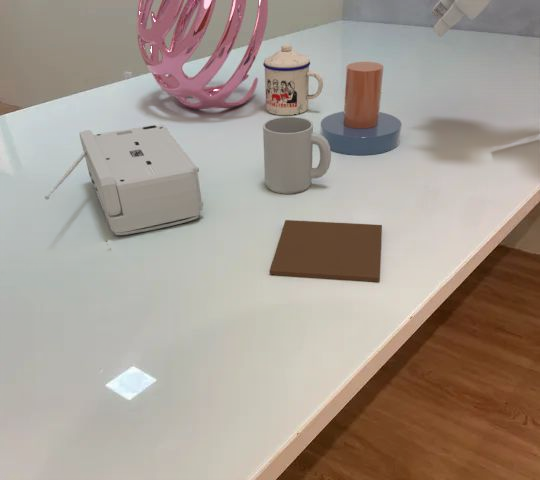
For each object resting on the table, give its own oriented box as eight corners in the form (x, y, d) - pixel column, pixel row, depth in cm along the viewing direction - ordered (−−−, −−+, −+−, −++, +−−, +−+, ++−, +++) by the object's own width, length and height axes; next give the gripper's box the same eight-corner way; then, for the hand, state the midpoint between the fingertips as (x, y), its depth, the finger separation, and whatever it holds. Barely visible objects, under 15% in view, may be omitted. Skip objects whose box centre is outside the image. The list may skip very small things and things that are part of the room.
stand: (399, 127, 103) (401, 110, 101) (399, 156, 93) (401, 138, 91) (323, 125, 105) (324, 109, 103) (316, 153, 95) (316, 136, 93)
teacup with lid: (257, 113, 112) (254, 48, 104) (275, 100, 118) (273, 38, 110) (314, 120, 108) (315, 53, 100) (329, 105, 114) (331, 41, 107)
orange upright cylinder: (378, 117, 99) (383, 61, 93) (377, 129, 95) (383, 71, 89) (344, 116, 100) (347, 61, 94) (342, 128, 95) (345, 71, 90)
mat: (381, 228, 74) (382, 224, 74) (379, 282, 65) (379, 277, 64) (285, 223, 76) (285, 219, 76) (269, 274, 67) (269, 270, 66)
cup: (270, 173, 89) (268, 115, 83) (332, 177, 87) (335, 118, 82) (260, 192, 84) (257, 132, 78) (326, 197, 82) (328, 135, 76)
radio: (170, 167, 92) (46, 190, 87) (162, 115, 87) (29, 136, 82) (208, 220, 78) (61, 252, 72) (201, 162, 72) (42, 192, 67)
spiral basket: (266, -25, 121) (162, -112, 101) (330, 33, 106) (224, -55, 87) (199, 91, 134) (96, 34, 114) (248, 156, 120) (140, 103, 100)
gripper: (537, -33, 72) (453, 58, 81) (516, -60, 86) (447, 20, 95) (504, -70, 70) (422, 28, 79) (488, -91, 84) (420, -6, 93)
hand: (435, 24), depth 87 cm, fingers open, 8 cm apart
